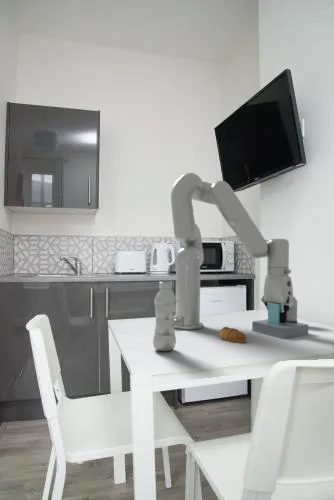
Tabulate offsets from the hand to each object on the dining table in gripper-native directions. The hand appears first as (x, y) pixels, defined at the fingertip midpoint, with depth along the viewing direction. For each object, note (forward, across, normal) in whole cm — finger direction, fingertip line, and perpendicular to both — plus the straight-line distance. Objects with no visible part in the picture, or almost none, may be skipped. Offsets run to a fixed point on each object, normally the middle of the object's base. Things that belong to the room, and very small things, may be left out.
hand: (277, 321), depth 120 cm
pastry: (+5, +2, +21) cm, 22 cm away
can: (+5, +7, -16) cm, 18 cm away
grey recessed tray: (+4, 0, -2) cm, 5 cm away
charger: (+2, 0, 0) cm, 2 cm away
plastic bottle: (+5, +2, +48) cm, 49 cm away
